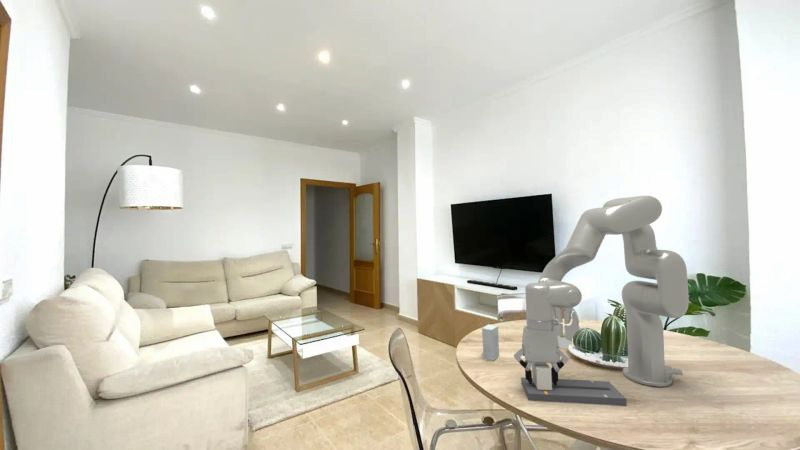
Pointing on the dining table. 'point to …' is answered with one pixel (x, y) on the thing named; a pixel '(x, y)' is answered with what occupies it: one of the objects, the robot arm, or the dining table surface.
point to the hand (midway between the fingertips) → (541, 382)
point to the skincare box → (490, 342)
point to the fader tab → (542, 376)
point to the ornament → (568, 329)
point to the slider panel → (576, 392)
